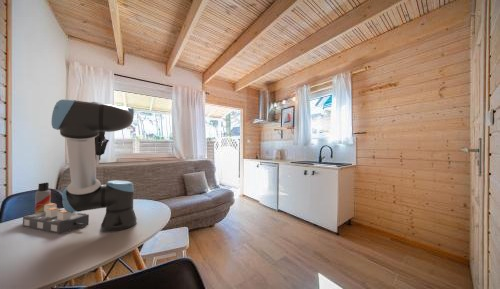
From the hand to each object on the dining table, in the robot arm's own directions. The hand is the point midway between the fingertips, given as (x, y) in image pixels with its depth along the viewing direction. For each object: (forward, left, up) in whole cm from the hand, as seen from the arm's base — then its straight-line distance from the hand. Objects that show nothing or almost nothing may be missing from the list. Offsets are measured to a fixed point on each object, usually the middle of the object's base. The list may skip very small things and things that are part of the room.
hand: (96, 165), depth 109 cm
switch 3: (+10, +15, -24) cm, 30 cm away
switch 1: (-10, +20, -24) cm, 33 cm away
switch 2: (0, +19, -24) cm, 31 cm away
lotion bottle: (+21, +13, -30) cm, 39 cm away
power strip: (-2, +18, -29) cm, 34 cm away
